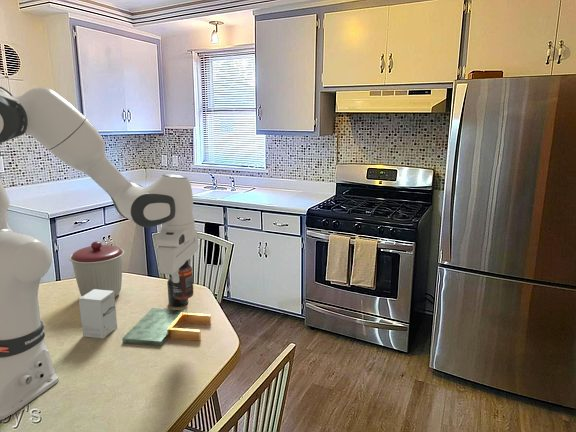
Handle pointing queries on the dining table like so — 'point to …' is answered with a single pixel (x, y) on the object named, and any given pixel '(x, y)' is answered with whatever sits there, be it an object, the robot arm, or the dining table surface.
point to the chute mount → (165, 327)
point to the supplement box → (98, 313)
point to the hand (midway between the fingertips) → (182, 276)
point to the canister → (98, 268)
